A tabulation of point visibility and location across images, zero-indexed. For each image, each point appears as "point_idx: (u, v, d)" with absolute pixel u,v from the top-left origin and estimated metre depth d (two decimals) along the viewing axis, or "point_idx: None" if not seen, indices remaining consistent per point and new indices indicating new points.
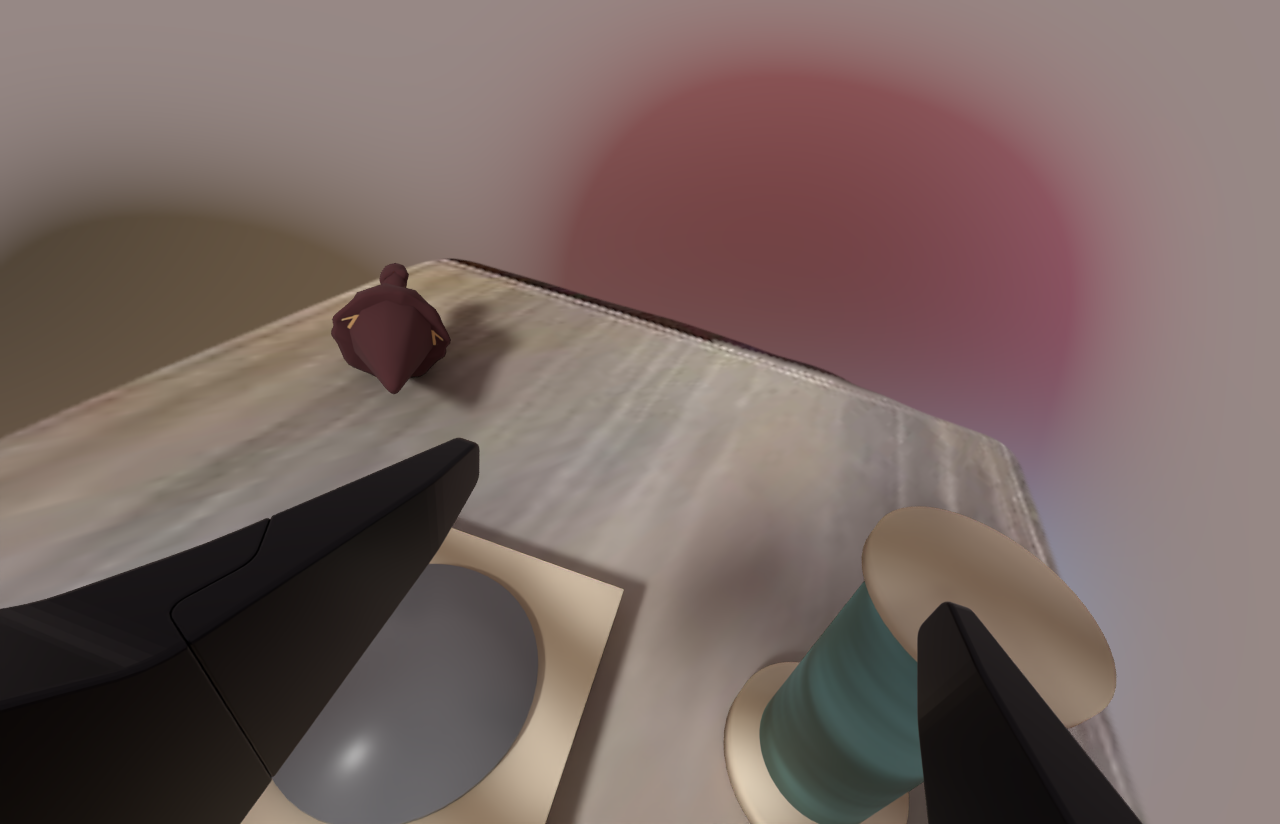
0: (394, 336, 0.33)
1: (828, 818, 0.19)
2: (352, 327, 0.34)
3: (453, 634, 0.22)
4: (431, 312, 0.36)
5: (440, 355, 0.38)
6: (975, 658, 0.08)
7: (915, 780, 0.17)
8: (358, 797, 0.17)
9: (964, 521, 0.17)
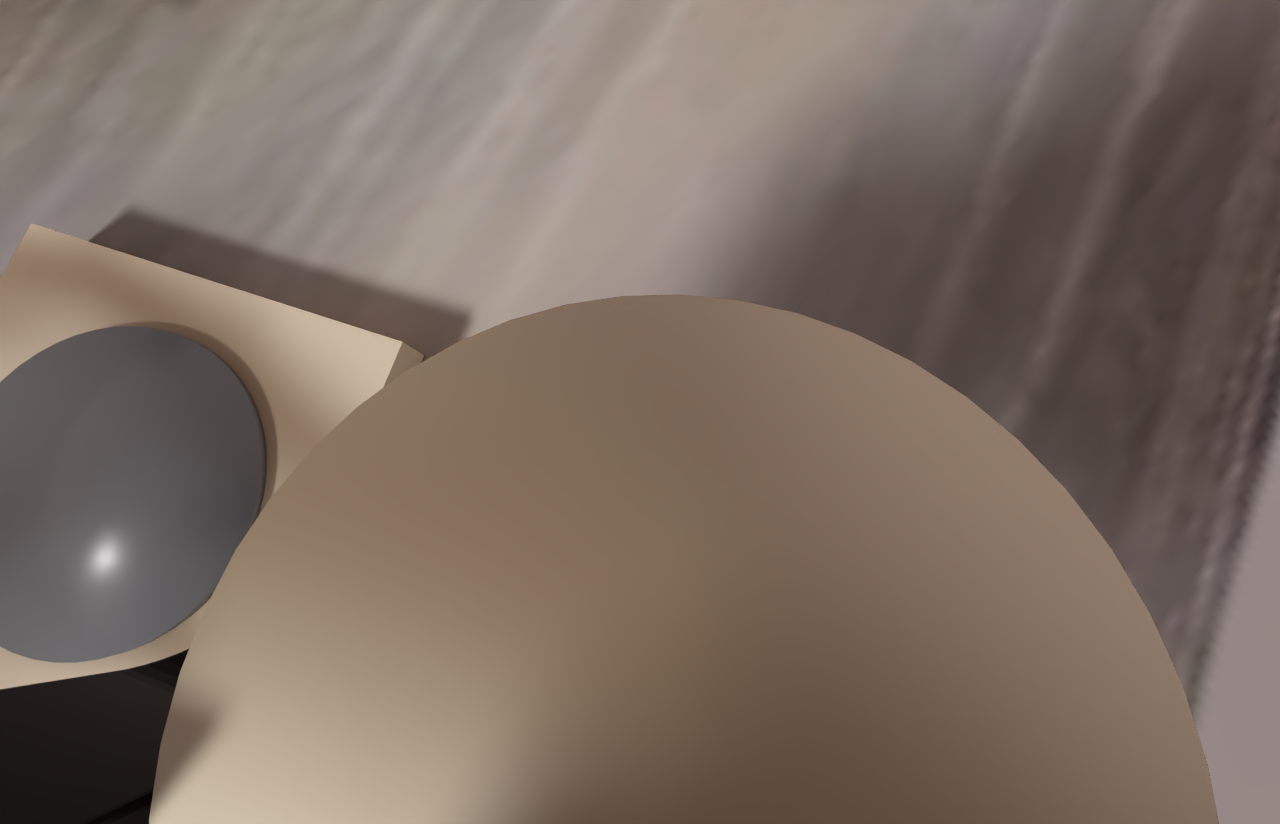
0: None
1: None
2: None
3: (146, 433, 0.16)
4: None
5: None
6: None
7: None
8: (51, 633, 0.15)
9: (805, 360, 0.04)
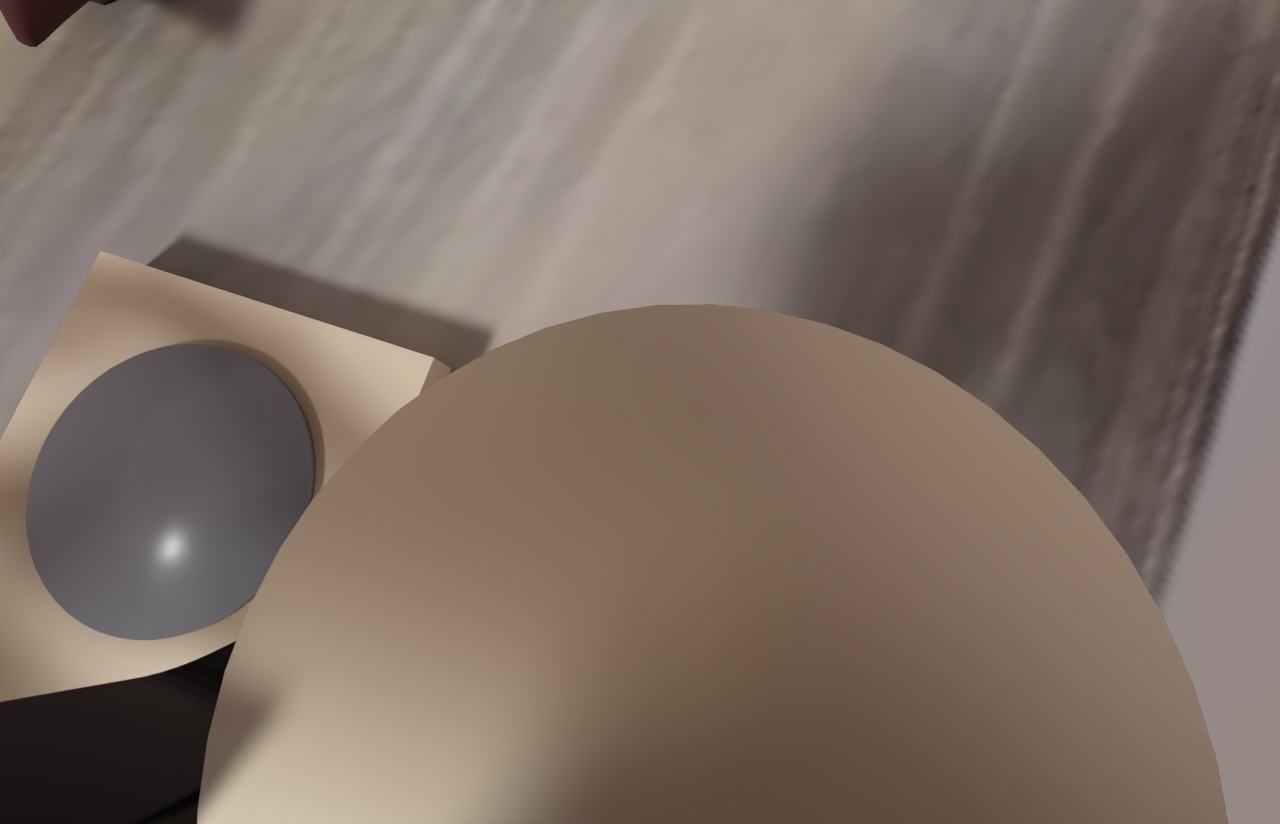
0: None
1: None
2: None
3: (209, 439, 0.18)
4: None
5: None
6: None
7: None
8: (131, 614, 0.17)
9: (834, 368, 0.04)
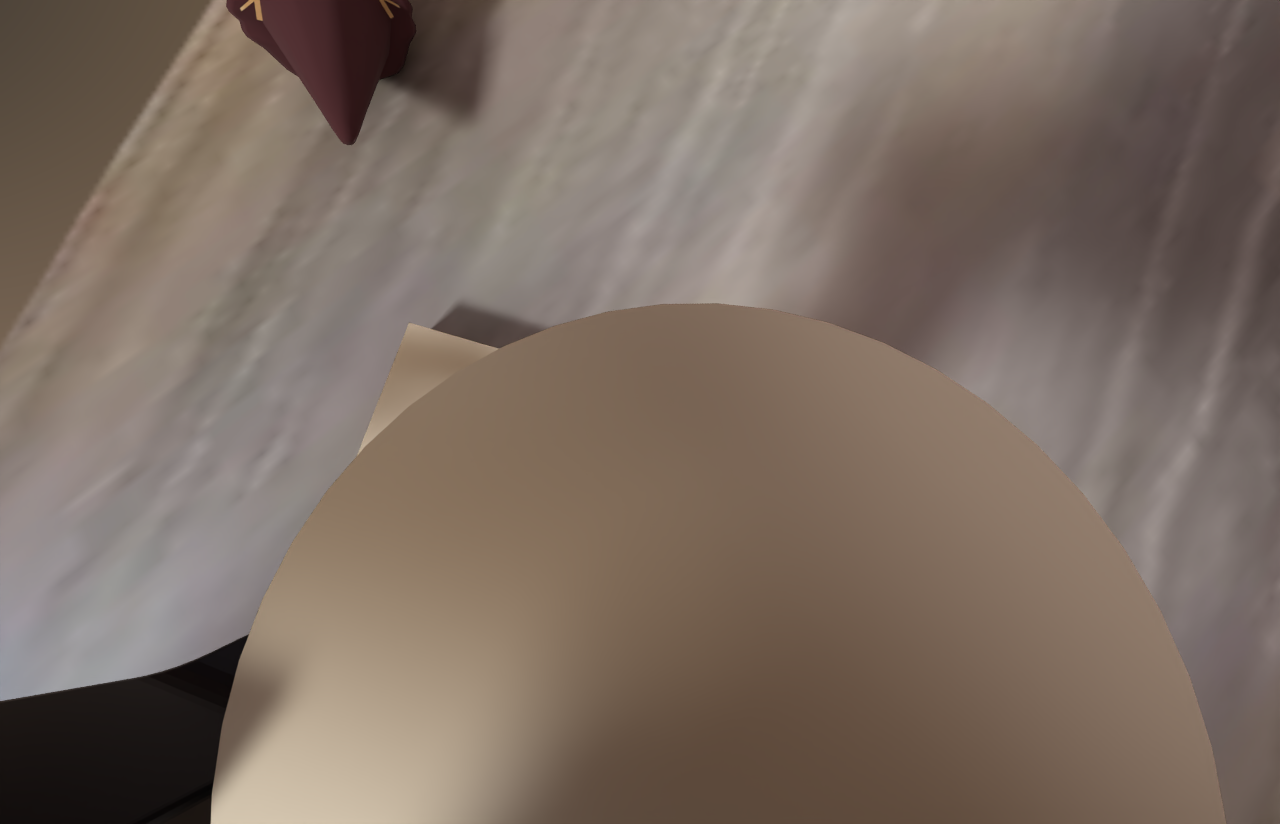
0: (316, 33, 0.21)
1: None
2: (263, 18, 0.22)
3: None
4: None
5: (409, 33, 0.25)
6: None
7: None
8: None
9: (836, 367, 0.04)
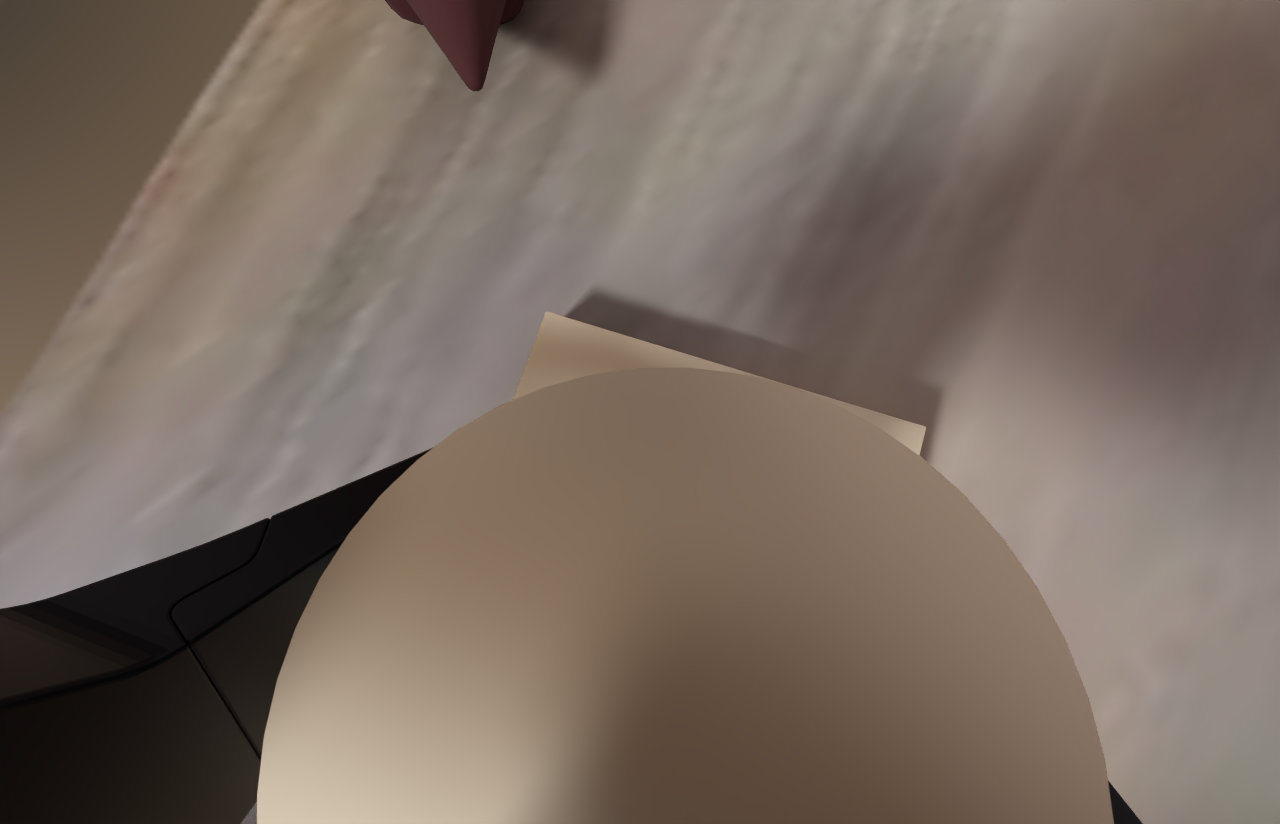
0: None
1: None
2: None
3: None
4: None
5: None
6: None
7: None
8: None
9: (791, 424, 0.04)
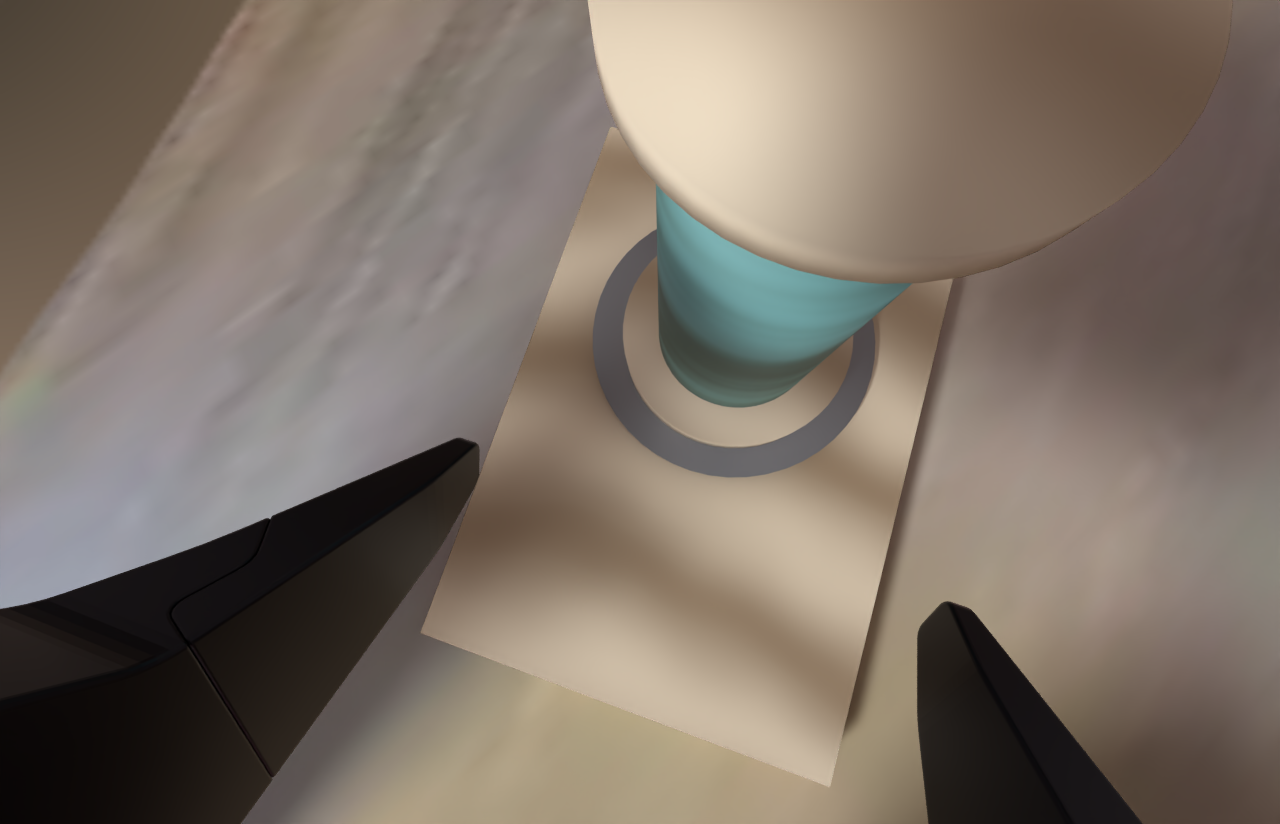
0: None
1: (715, 399, 0.16)
2: None
3: None
4: None
5: None
6: (975, 658, 0.08)
7: (780, 364, 0.11)
8: (721, 454, 0.18)
9: None
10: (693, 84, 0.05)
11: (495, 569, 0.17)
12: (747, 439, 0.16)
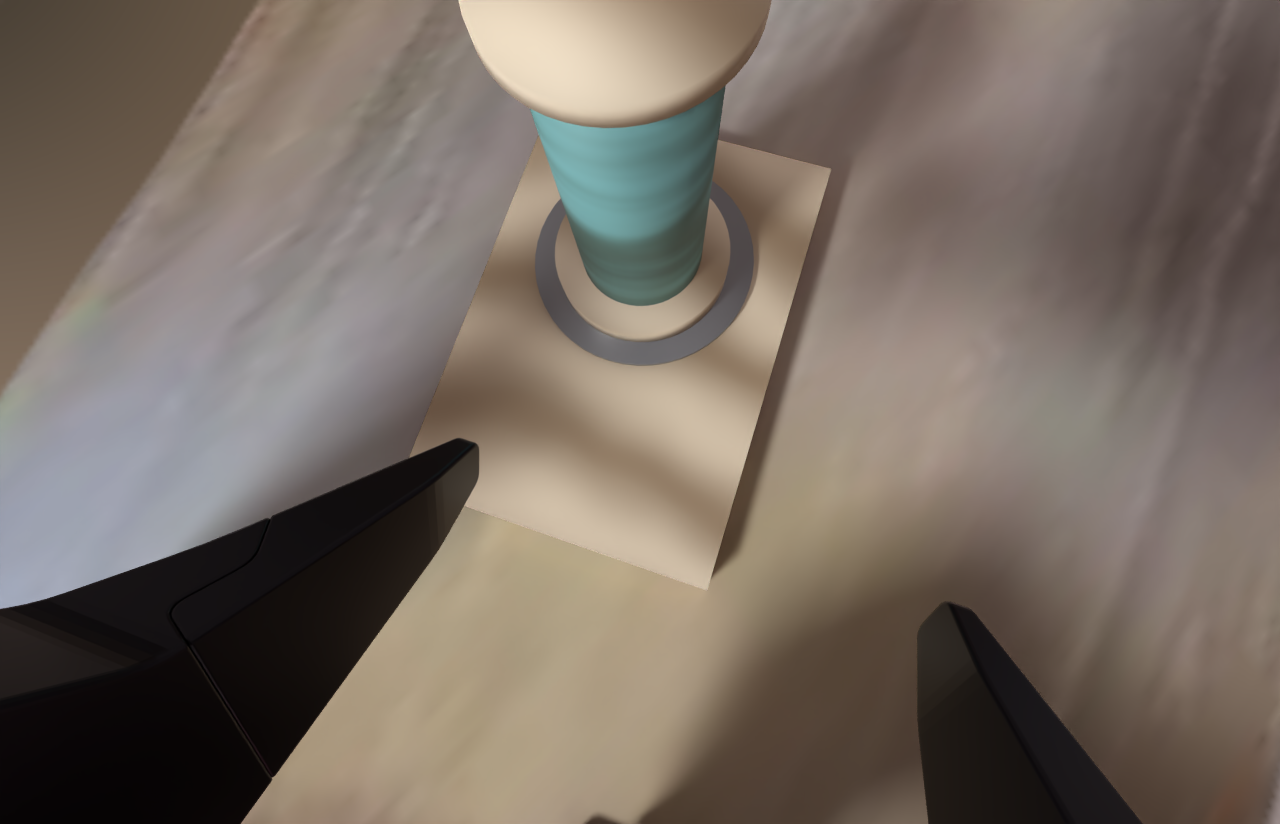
0: None
1: (620, 296, 0.21)
2: None
3: None
4: None
5: None
6: (975, 658, 0.08)
7: (636, 242, 0.16)
8: (632, 346, 0.23)
9: None
10: (507, 25, 0.10)
11: (457, 435, 0.23)
12: (646, 329, 0.21)
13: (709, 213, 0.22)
